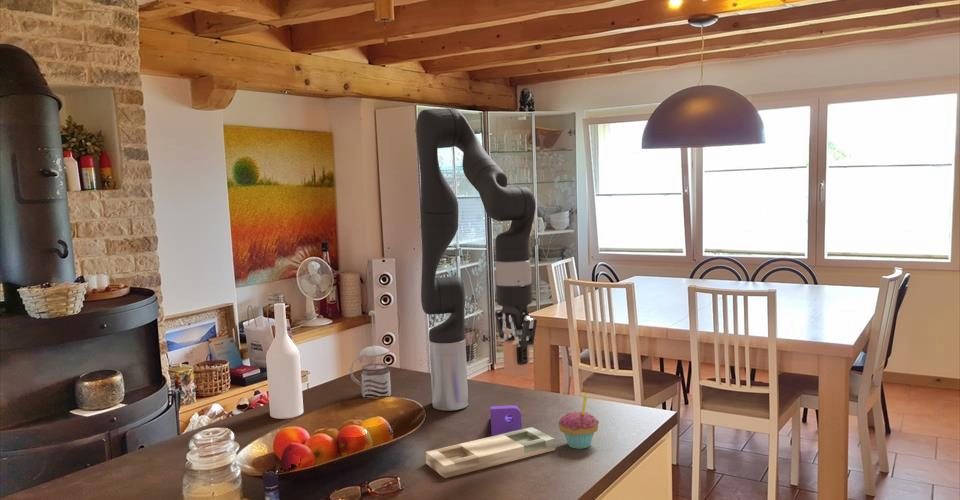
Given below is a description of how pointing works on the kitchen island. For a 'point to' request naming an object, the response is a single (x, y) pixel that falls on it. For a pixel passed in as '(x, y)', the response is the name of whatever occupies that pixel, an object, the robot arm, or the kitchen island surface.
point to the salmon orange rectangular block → (514, 360)
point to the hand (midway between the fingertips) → (516, 361)
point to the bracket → (505, 419)
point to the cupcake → (579, 427)
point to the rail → (489, 451)
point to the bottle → (283, 371)
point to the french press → (374, 370)
